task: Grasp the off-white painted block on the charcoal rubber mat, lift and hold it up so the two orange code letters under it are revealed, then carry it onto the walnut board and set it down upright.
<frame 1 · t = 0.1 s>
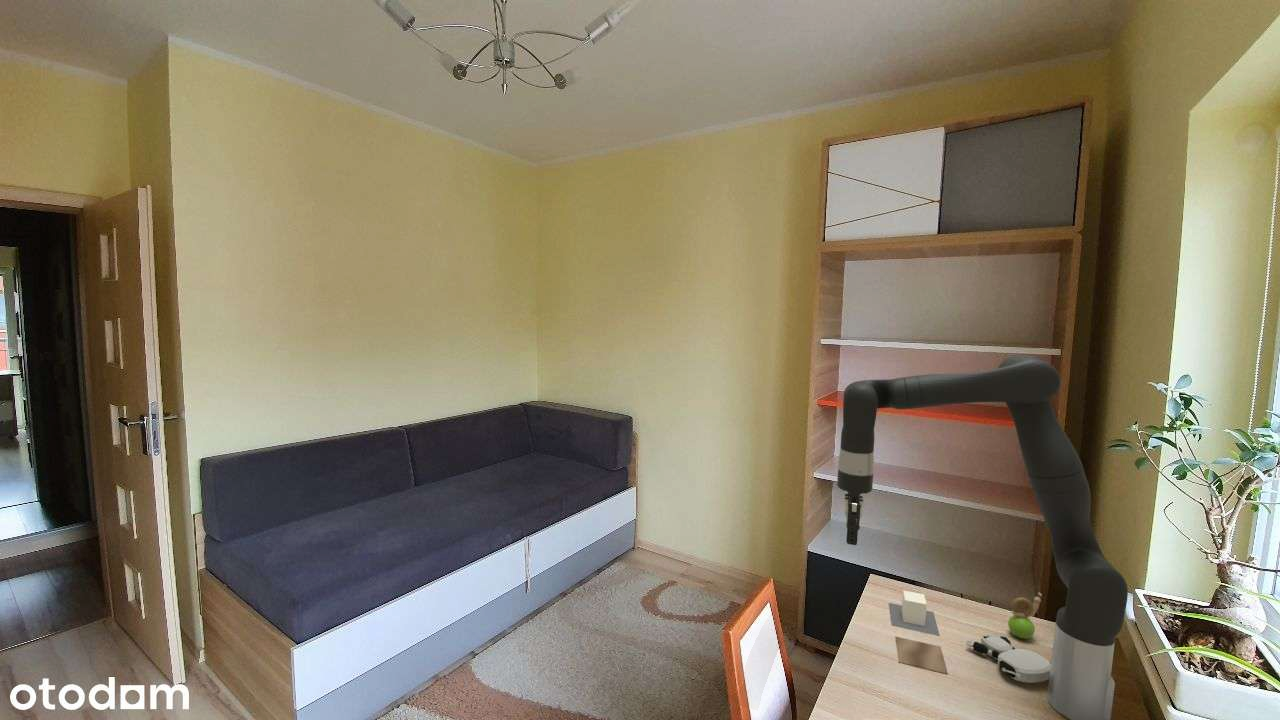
hand: (851, 536, 121), 29 cm above the table, tool pointing down, fingers open, 8 cm apart
code mat: (912, 619, 138), on the table
robot toy: (1009, 667, 121), on the table
walnut board: (920, 655, 124), on the table
snail figurine: (1022, 637, 131), on the table
white block: (912, 618, 138), resting on code mat
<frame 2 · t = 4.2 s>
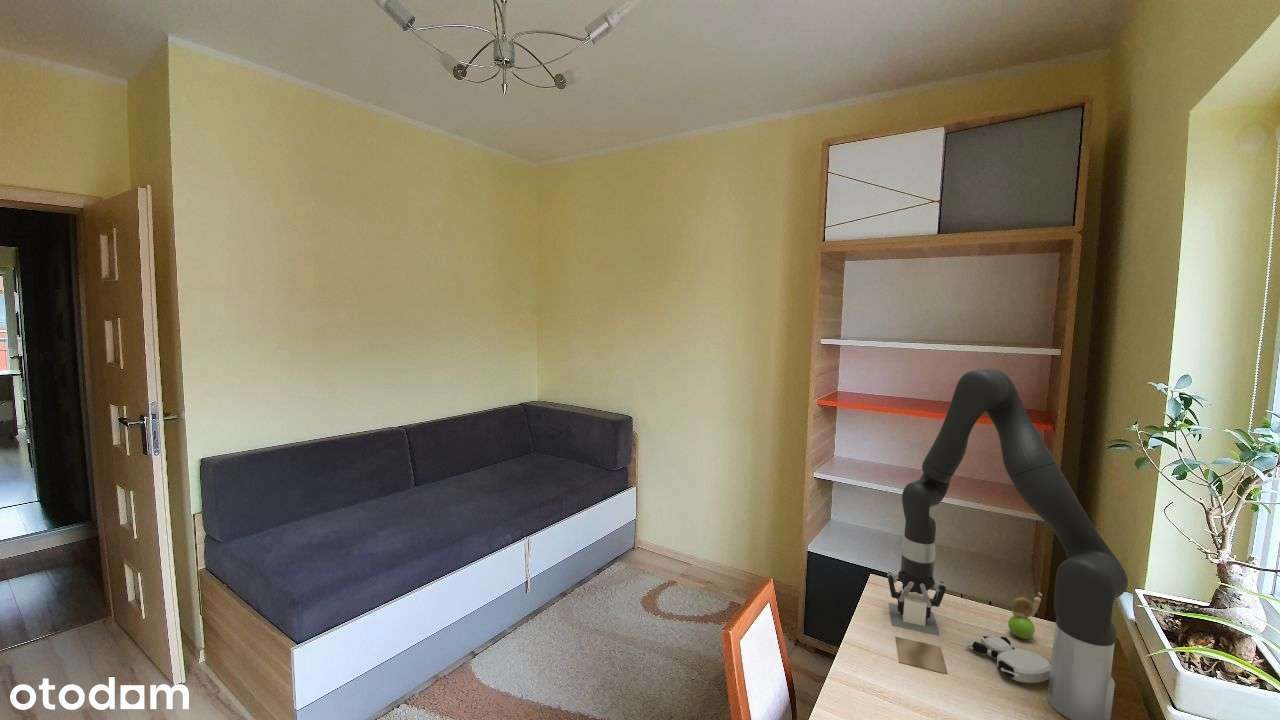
hand: (913, 615, 138), 1 cm above the table, tool pointing down, fingers closed on white block, 5 cm apart
white block: (912, 618, 138), resting on code mat, touching gripper
everything else where it was.
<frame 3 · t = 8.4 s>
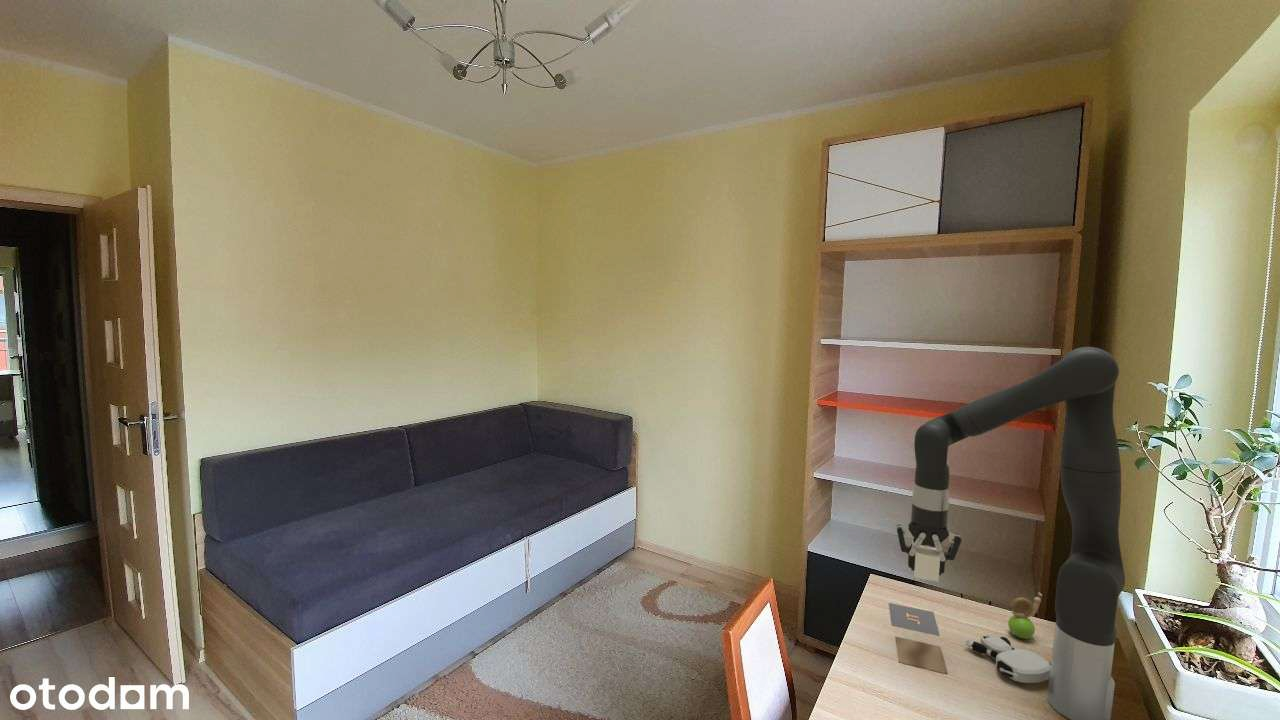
hand: (925, 571, 126), 19 cm above the table, tool pointing down, fingers closed on white block, 5 cm apart
white block: (925, 574, 126), point 18 cm above the table, touching gripper
everything else where it was.
when the fingers open (3 cm above the table, at t = 12.8 s): white block drops 1 cm, resting on walnut board.
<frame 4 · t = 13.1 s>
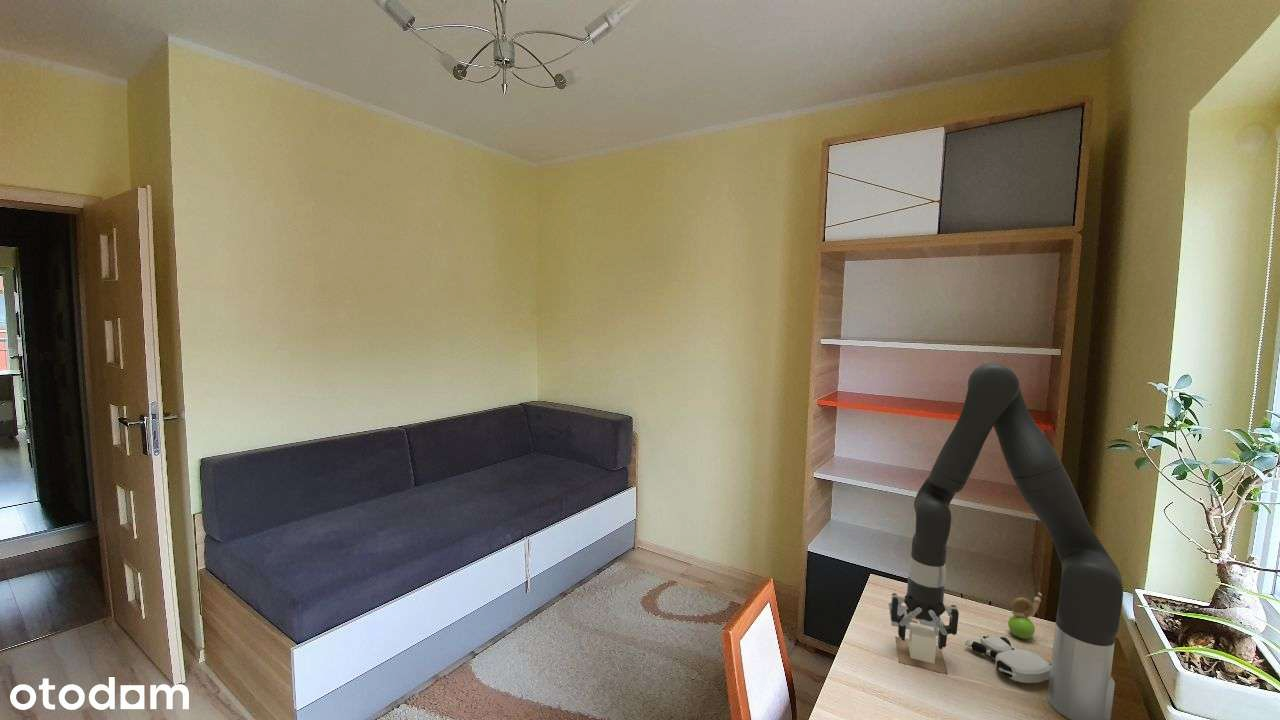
hand: (921, 642, 124), 3 cm above the table, tool pointing down, fingers open, 7 cm apart
white block: (921, 654, 124), resting on walnut board
everything else where it was.
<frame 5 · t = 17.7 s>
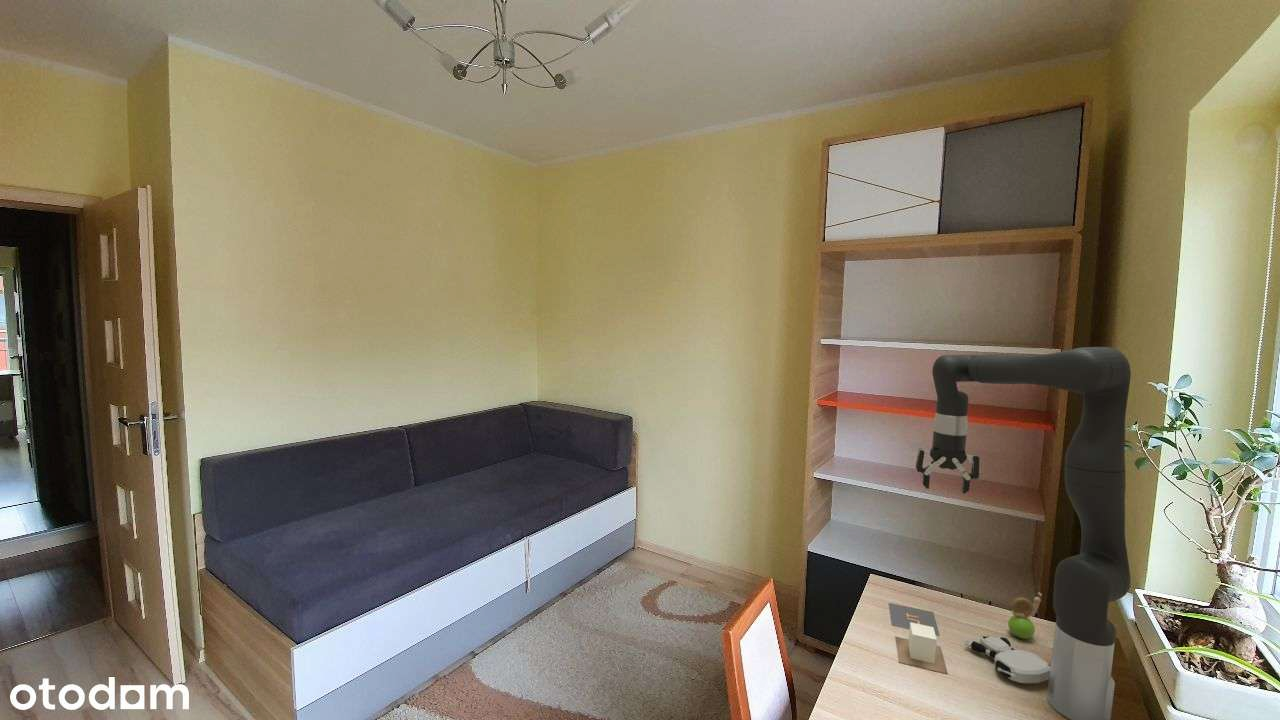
hand: (944, 490, 138), 34 cm above the table, tool pointing down, fingers open, 8 cm apart
nothing on the table moved.
at the end: white block 0.2 cm off-centre on the walnut board, point 0.3 cm above the walnut board's base; white block tilted 0°; the gripper is holding nothing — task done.
